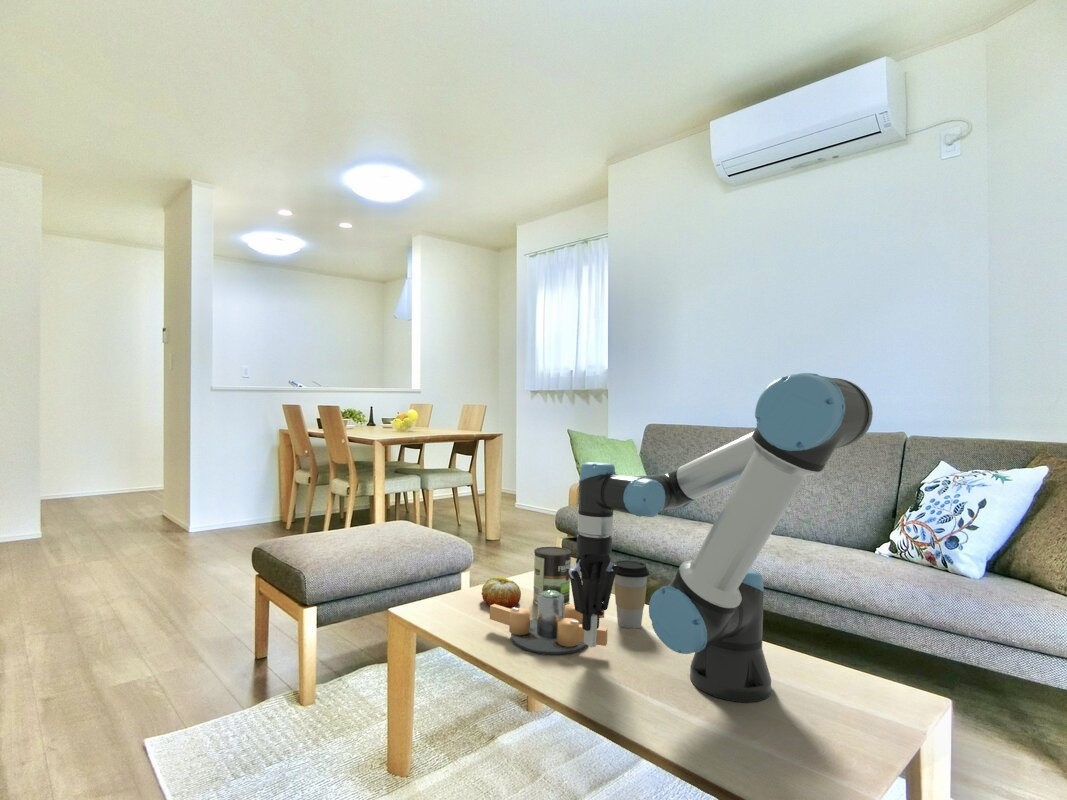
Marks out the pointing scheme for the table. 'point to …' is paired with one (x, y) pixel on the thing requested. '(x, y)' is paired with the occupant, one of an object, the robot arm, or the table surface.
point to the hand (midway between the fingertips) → (589, 644)
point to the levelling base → (543, 643)
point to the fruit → (501, 592)
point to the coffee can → (552, 571)
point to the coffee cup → (630, 592)
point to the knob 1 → (512, 618)
